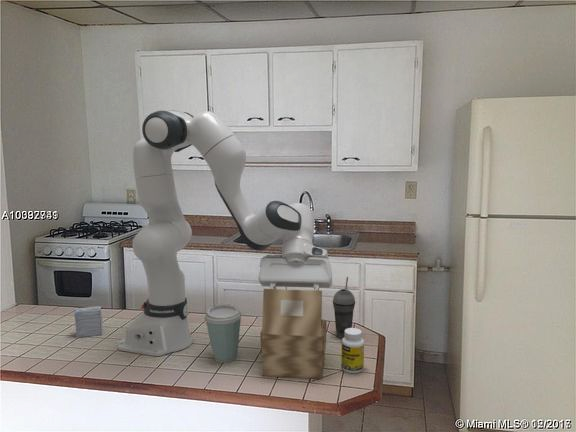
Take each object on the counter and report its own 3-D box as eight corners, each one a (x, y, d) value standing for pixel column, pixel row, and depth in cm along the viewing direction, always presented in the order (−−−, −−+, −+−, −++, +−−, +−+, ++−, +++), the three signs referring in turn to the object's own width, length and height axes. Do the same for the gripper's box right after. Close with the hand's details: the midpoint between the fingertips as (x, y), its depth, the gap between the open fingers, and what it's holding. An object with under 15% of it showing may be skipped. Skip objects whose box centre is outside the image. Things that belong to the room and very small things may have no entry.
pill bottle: (338, 371, 133) (339, 333, 131) (344, 362, 138) (344, 325, 137) (361, 375, 130) (361, 336, 129) (365, 365, 136) (366, 328, 134)
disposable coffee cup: (250, 358, 141) (249, 309, 139) (219, 370, 134) (217, 318, 132) (229, 347, 149) (228, 300, 146) (199, 357, 142) (197, 308, 139)
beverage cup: (340, 330, 161) (340, 271, 158) (359, 335, 157) (360, 275, 154) (327, 337, 156) (328, 276, 153) (347, 342, 151) (347, 281, 148)
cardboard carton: (260, 375, 131) (259, 333, 129) (268, 356, 143) (267, 317, 141) (323, 379, 129) (323, 336, 127) (326, 359, 140) (326, 319, 138)
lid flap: (262, 333, 129) (261, 333, 128) (264, 288, 130) (263, 288, 129) (321, 336, 126) (320, 336, 126) (322, 290, 128) (321, 290, 127)
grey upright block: (103, 330, 163) (101, 305, 162) (102, 335, 159) (100, 309, 158) (77, 333, 161) (75, 308, 159) (76, 338, 157) (74, 312, 155)
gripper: (259, 249, 136) (253, 294, 128) (332, 250, 133) (331, 296, 125) (262, 260, 141) (257, 304, 133) (333, 261, 138) (331, 306, 131)
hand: (293, 300), depth 129 cm, fingers open, 8 cm apart
